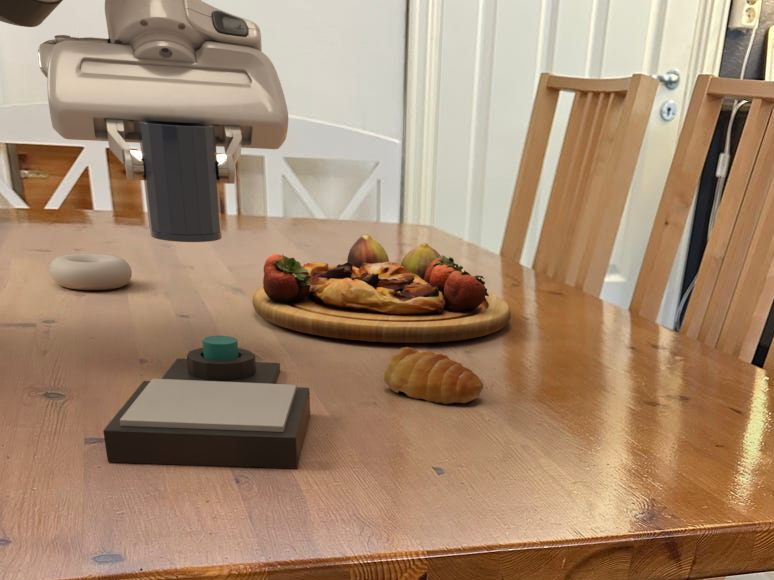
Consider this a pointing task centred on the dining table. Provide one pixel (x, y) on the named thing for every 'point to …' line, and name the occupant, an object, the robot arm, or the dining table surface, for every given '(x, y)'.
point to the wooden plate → (380, 297)
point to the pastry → (431, 377)
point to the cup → (181, 181)
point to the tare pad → (223, 369)
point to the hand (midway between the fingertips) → (182, 177)
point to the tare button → (220, 348)
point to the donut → (90, 271)
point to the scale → (210, 424)
